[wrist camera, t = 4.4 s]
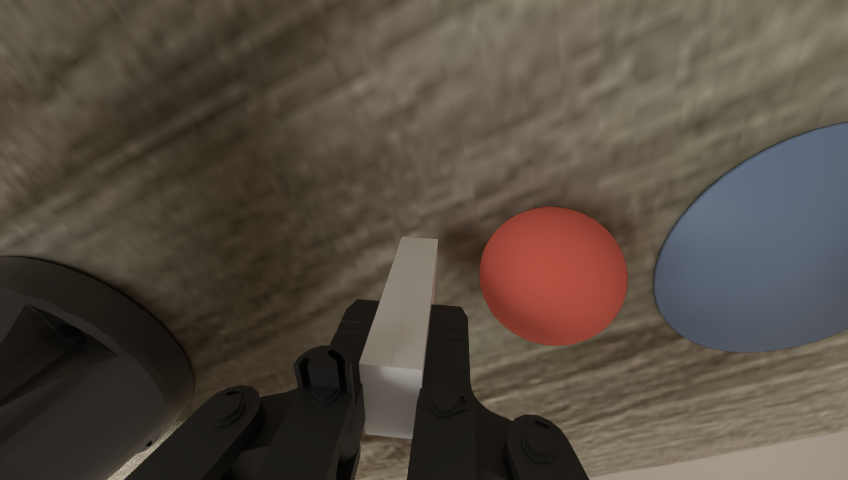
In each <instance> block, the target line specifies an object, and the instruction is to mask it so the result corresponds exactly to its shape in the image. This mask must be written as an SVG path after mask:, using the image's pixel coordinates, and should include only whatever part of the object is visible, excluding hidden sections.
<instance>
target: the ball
mask: <svg viewBox="0 0 848 480" xmlns="http://www.w3.org/2000/svg"><path fill="white" fill-rule="evenodd" d="M627 284H628V272H627V267H626V262H625V258H624V256H623V254H622V251H621V249H620V247H619V245H618V244H617V242H616V240H615V239H614V238H613V236H612V235H611V234H610V233H609V232H608V231H607V230H606V229H605V228H604V227H603V226H602V225H600V224H599V223H598V222H597V221H595V220H594V219H592V218H590V217H589V216H587V215H585V214H582V213H580V212H577V211H575V210H571V209H567V208H560V207H541V208H535V209H531V210H527V211H525V212H522V213H520V214H518V215H516V216H514V217H512V218H510V219H509V220H507V221H506V222H505V223H503V224H502V225H501V226H500V227H499V228H498V229H497V230H496V231H495V232H494V233H493V235H492V236H491V238H490V239H489V241H488V243H487V245H486V246H485V249H484V251H483V254H482V258H481V263H480V285H481V289H482V293H483V296H484V299H485V301H486V303H487V305H488V307H489V309H490V310H491V312H492V313H493V315H494V316H495V317H496V318H497V319H498V320H499V322H500V323H501V324H503V325H504V326H505V327H506V328H507V329H509V330H510V331H511V332H513V333H514V334H516V335H518V336H520V337H522V338H524V339H526V340H528V341H531V342H534V343H539V344H543V345H551V346H561V345H569V344H574V343H578V342H581V341H584V340H587V339H589V338H591V337H593V336H595V335H596V334H598V333H599V332H601V331H602V330H604V329H605V328H606V327H607V326H608V325H609V324H610V323H611V322H612V321H613V319H614V318H615V317H616V315H617V314H618V312H619V311H620V309H621V307H622V305H623V302H624V299H625V296H626V292H627Z"/></svg>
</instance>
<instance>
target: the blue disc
mask: <svg viewBox="0 0 848 480" xmlns="http://www.w3.org/2000/svg"><path fill="white" fill-rule="evenodd" d="M653 289H654V295H655V301H656V303H657V306H658V308H659V311H660V312H661V314H662V315H663V317H664V319H665V320H666V321H667V322H668V324H669V325H670V326H671V327H672V328H673V329H674V330H675V331H676V332H678V333H679V334H681V335H682V336H683V337H685V338H686V339H688V340H690V341H692V342H694V343H696V344H699V345H702V346H705V347H708V348H712V349H717V350H721V351H730V352H751V353H752V352H767V351H774V350H781V349H787V348H792V347H796V346H801V345H804V344H808V343H811V342H815V341H818V340H821V339H824V338H827V337H830V336H832V335H835V334H838V333H840V332H842V331H845V330H847V329H848V122H845V123H838V124H834V125H830V126H826V127H822V128H818V129H814V130H811V131H808V132H805V133H802V134H800V135H797V136H794V137H791V138H788V139H786V140H784V141H782V142H780V143H777V144H775V145H773V146H771V147H769V148H767V149H765V150H763V151H761V152H759V153H757V154H756V155H754V156H752V157H750V158H749V159H747V160H745V161H743V162H742V163H740V164H739V165H738V166H736V167H735V168H733V169H732V170H730V171H729V172H727V173H726V174H724V175H723V176H722V177H721V178H719V179H718V180H717V181H716V182H714V183H713V184H712V185H711V186H710V187H708V188H707V189H706V190H705V191H704V192H703V193H702V194H701V195H700V196H699V197H698V198H697V199H696V200H695V201H694V202H693V203H692V204H691V205H690V206H689V207H688V208H687V210H686V211H685V212H684V213H683V214H682V216H681V217H680V218H679V219H678V221H677V222H676V224H675V225H674V227H673V228H672V230H671V231H670V233H669V234H668V236H667V238H666V240H665V242H664V244H663V246H662V248H661V250H660V253H659V256H658V259H657V262H656V266H655V271H654V283H653Z"/></svg>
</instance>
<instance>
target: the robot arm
mask: <svg viewBox="0 0 848 480" xmlns="http://www.w3.org/2000/svg"><path fill="white" fill-rule="evenodd" d="M437 250H438V239H428V238H414V237H402V238H401V241H400V244H399V247H398V250H397V253H396V256H395V259H394V262H393V265H392V268H391V270H390V273H389V276H388V279H387V282H386V285H385V288H384V291H383V294H382V297H381V300H380V301H373V300H361V299H357V300H356V301H355V302H354V303H353V304H352V305H350V306H349V307H348V308H347V309H346V312H345V314H344V316H343V318H342V321H341V322H340V324H339V327H338V329H337V332H336V333H335V335H334V337H333V339H332V341H331V344H330V345H327V346H319V347H316V348H313V349H310V350H308V351H307V352H305V353H304V354H302V355H301V356H300V357H299V358H298V359H297V360H296V362H295V363H294V364H293V366H294V370H295V374H296V379H297V383H298V388H296V389H294V390H292V391H288V392H285V393H279V394H274V395H269V396H264V397H260V396H259V394H258V392H257V391H256V390H255V389H253V388H252V387H249V386H242V385H241V386H235V387H230V388H227V389H225V390H223V391H221V392H218V393H217V394H215V395H214V396H213V397H211V398H210V399H209V400H207V401H206V402H205V403H204V404H203V405H202V406H201V407H200V408H199V409H198V410H196V411H195V412H194V413H193V414H192V415H191V416H190V417H189V418H188V419H187V420H186V421H185V422H184V423H183V424H182V425H181V426H180V427H179V428H178V429H177V430H176V431H175V432H173V433H172V434H171V435H170V436H169V437H168V438H167V439H166V440H165V441H164V442H163V443H162V444H161V445H160V446H159V447H158V448H157V449H156V450H155V451H154V452H153V453H151V454H150V455H149V456H148V457H147V458H146V459H145V460H144V461H143V462H142V463H141V464H140V465H139V466H138V467H137V468H136V469H135V470H134V471H133V472H132V473H131V474H130V475H128V476H127V477H126V478H125V479H124V480H354V479H355V475H356V471H357V467H358V463H359V459H360V439H361V435H362V431H363V428H364V425H365V434H369V435H378V436H387V437H396V438H405V439H412V445H411V453H410V461H409V468H408V476H407V480H589V478H588V476H587V475H586V473H585V471H584V469H583V467H582V465H581V463H580V461H579V459H578V458H577V456H576V454H575V452H574V450H573V448H572V446H571V444H570V442H569V441H568V439H567V438H566V436H565V435H564V434H563V432H562V431H561V430H560V428H558V427H557V426H556V425H555V424H553V423H552V422H551V421H549V420H547V419H545V418H543V417H540V416H538V415H523V416H520V417H517V418H515V419H514V421H511V420H509V419H507V418H504V417H502V416H500V415H497V414H495V413H493V412H491V411H490V410H488V409H486V408H485V407H484V406H483V405H482V404H480V403H479V401H478V400H477V399H476V397H475V396H474V394H473V392H472V389H471V384H470V363H469V343H468V342H469V338H468V318H467V316H466V314H465V313H464V311H463V309H462V308H461V307H456V306H444V305H434V298H435V285H436V268H437ZM193 391H194V380H193V375H192V371H191V368H190V365H189V363H188V361H187V359H186V357H185V355H184V353H183V352H182V350H181V349H180V347H179V346H178V344H177V343H176V342H175V340H174V339H173V338H172V337H171V336H170V334H169V333H168V332H167V331H166V330H165V329H164V328H163V327H162V326H161V325H160V324H159V323H158V322H157V321H156V320H155V319H154V318H153V317H151V316H150V315H149V314H148V313H147V312H145V311H144V310H143V309H142V308H140V307H139V306H138V305H136V304H135V303H133V302H132V301H131V300H129V299H128V298H126V297H125V296H123V295H121V294H120V293H118V292H117V291H115V290H113V289H111V288H110V287H108V286H106V285H104V284H102V283H100V282H98V281H96V280H94V279H92V278H90V277H88V276H86V275H83V274H81V273H78V272H76V271H73V270H70V269H68V268H65V267H62V266H58V265H55V264H52V263H48V262H44V261H39V260H34V259H28V258H21V257H0V480H107V479H108V478H109V477H111V476H112V475H113V474H114V473H115V472H116V471H117V470H119V469H120V468H121V467H122V466H123V465H124V464H125V463H127V462H128V461H129V460H130V459H131V458H132V457H133V456H134V455H136V454H138V453H140V452H143V451H145V450H147V449H148V448H149V447H151V446H152V445H153V444H155V443H156V442H157V441H159V440H160V439H161V438H162V437H163V436H164V435H165V434H166V433H167V431H168V430H169V429H170V428H171V426H172V425H173V424H174V423H175V421H176V420H177V419H178V417H179V416H180V415H181V414H182V412H183V411H184V410H185V408H186V407H187V406H188V404H189V403H190V401H191V399H192V396H193Z"/></svg>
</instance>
